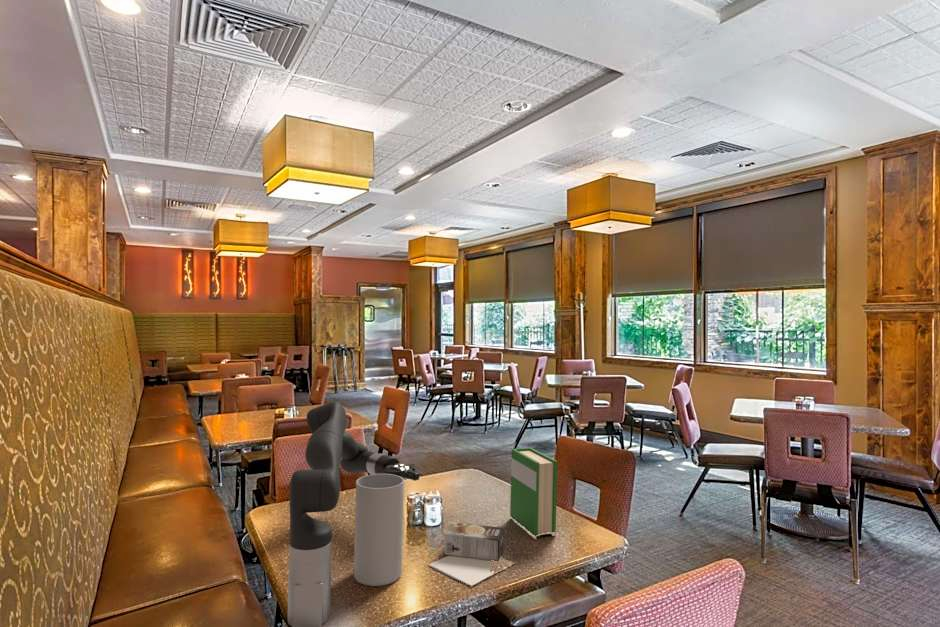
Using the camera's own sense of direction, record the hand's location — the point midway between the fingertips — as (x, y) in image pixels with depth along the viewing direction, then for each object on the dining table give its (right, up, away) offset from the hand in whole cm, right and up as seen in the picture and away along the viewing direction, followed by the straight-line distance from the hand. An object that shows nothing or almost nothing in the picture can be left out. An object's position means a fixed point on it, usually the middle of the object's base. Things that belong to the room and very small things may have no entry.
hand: (417, 476), depth 161 cm
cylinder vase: (-8, -19, -23) cm, 31 cm away
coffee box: (+10, -16, -7) cm, 20 cm away
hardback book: (+37, -20, +11) cm, 43 cm away
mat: (+17, -20, -16) cm, 30 cm away
